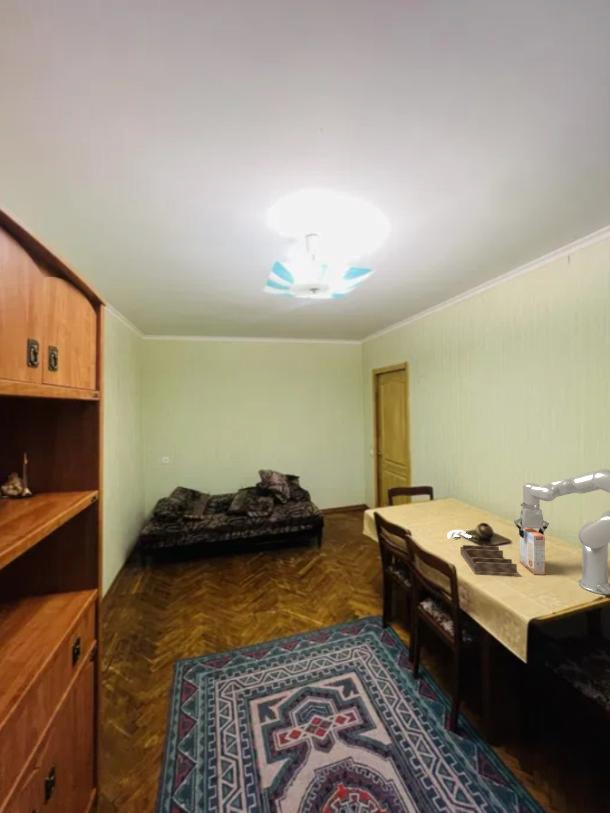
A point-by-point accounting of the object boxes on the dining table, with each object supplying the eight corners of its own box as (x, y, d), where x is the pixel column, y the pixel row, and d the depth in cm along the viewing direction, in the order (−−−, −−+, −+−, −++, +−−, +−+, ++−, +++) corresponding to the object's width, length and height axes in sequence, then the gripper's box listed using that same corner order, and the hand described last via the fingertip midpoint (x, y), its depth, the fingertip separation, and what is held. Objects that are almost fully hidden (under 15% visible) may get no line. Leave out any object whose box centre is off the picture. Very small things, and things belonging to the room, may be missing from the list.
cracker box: (545, 575, 176) (545, 535, 176) (533, 574, 177) (533, 535, 177) (530, 562, 190) (530, 526, 190) (519, 562, 191) (519, 525, 191)
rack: (499, 555, 199) (499, 545, 199) (519, 576, 175) (519, 565, 175) (460, 554, 202) (460, 544, 202) (474, 574, 178) (474, 563, 178)
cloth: (463, 530, 242) (463, 526, 242) (483, 542, 220) (483, 538, 220) (437, 531, 239) (437, 528, 239) (454, 544, 217) (454, 541, 217)
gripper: (517, 507, 181) (517, 539, 181) (552, 509, 178) (552, 540, 179) (511, 503, 188) (511, 533, 188) (544, 504, 186) (544, 535, 186)
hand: (531, 537), depth 183 cm, fingers open, 9 cm apart
